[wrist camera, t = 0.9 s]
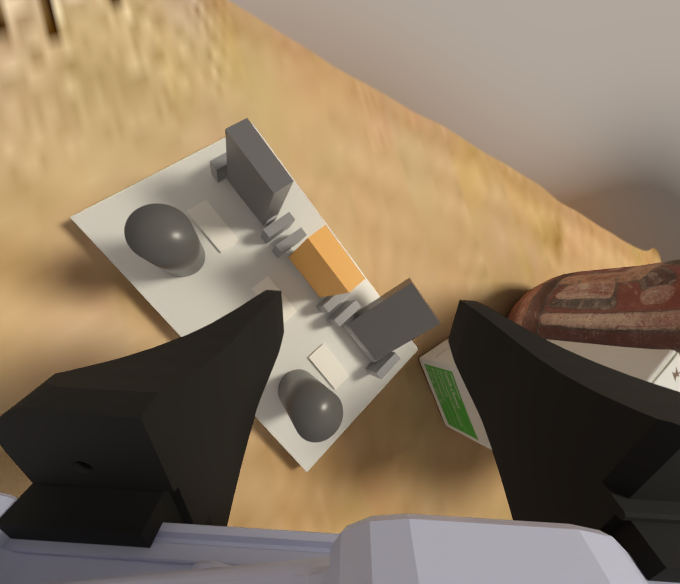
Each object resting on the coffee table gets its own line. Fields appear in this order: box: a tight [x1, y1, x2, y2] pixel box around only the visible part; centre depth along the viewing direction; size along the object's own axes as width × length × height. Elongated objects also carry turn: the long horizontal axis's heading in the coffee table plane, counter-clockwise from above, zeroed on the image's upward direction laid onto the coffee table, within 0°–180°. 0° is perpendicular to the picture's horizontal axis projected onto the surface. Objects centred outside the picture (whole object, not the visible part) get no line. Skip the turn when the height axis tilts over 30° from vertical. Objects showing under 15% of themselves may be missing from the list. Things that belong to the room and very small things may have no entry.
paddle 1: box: [225, 118, 293, 226], centre depth 18 cm, size 1×4×7 cm, turn 40°
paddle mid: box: [288, 225, 365, 298], centre depth 19 cm, size 1×4×7 cm, turn 41°
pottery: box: [506, 260, 680, 355], centre depth 25 cm, size 18×18×18 cm
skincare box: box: [419, 338, 680, 450], centre depth 22 cm, size 8×7×16 cm
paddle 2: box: [342, 278, 441, 362], centre depth 22 cm, size 1×4×7 cm
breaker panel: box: [70, 123, 418, 472], centre depth 19 cm, size 14×24×7 cm, turn 40°
